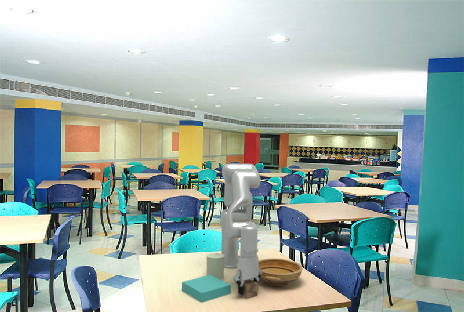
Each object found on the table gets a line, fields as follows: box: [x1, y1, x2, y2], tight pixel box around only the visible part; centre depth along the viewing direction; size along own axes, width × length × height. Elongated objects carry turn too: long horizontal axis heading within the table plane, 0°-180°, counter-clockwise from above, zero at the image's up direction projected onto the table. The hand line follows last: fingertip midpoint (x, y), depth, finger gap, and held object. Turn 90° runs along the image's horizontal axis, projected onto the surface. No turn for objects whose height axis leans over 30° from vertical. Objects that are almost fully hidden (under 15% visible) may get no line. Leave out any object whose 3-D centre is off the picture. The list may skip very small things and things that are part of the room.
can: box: [205, 252, 225, 281], centre depth 184 cm, size 9×9×12 cm
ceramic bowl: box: [258, 258, 304, 287], centre depth 180 cm, size 30×24×8 cm
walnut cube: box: [237, 279, 259, 300], centre depth 163 cm, size 6×6×6 cm
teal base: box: [181, 275, 232, 303], centre depth 166 cm, size 16×16×4 cm
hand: (247, 291), depth 163 cm, fingers open, 8 cm apart
